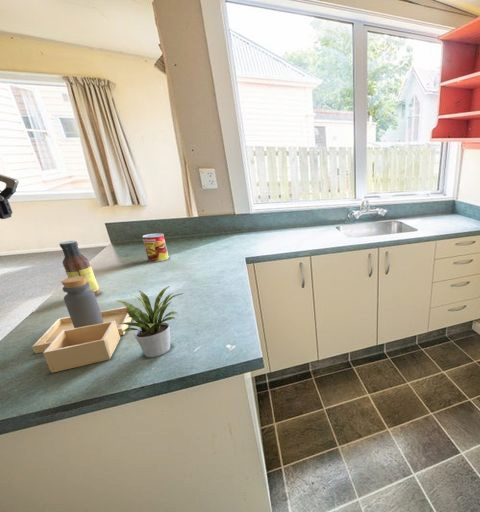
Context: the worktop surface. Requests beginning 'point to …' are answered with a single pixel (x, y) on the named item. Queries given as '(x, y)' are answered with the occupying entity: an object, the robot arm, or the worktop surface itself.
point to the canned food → (155, 247)
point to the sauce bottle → (78, 265)
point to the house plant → (151, 324)
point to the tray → (67, 324)
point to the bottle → (81, 302)
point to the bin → (82, 346)
